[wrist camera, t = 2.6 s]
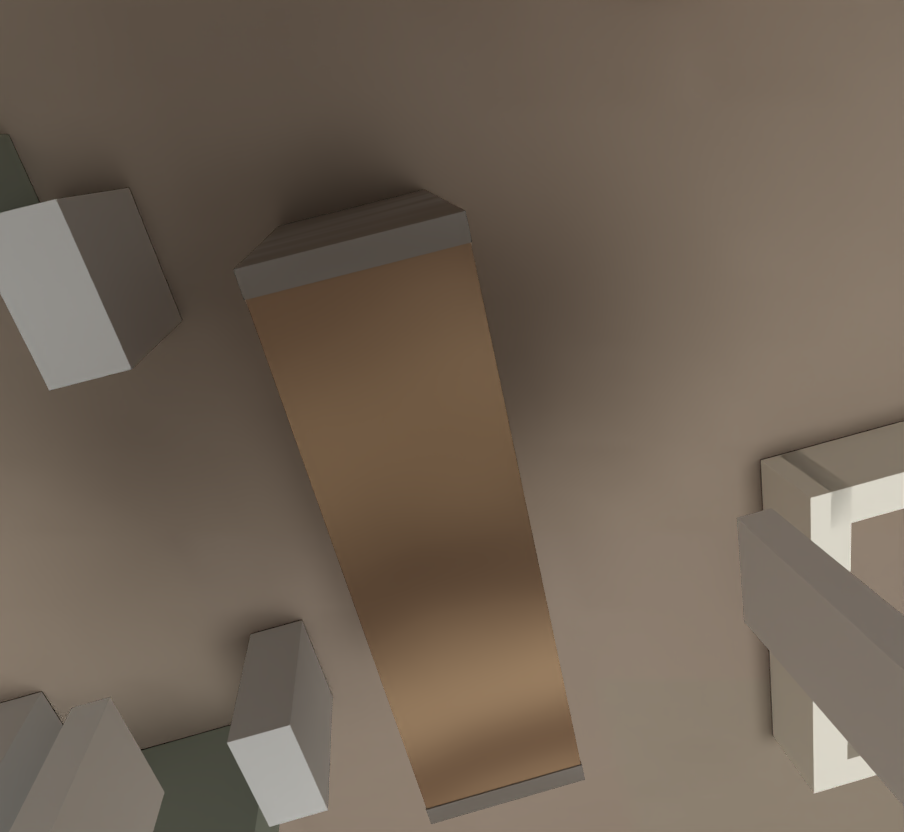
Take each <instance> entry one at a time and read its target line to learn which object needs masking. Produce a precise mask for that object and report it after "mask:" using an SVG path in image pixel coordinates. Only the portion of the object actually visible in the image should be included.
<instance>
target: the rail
mask: <svg viewBox="0 0 904 832" xmlns="http://www.w3.org/2000/svg"><path fill="white" fill-rule="evenodd" d="M471 242H472V240H471V235H470V230H469V225H468V221H467V216H466V211H465V210H463V209H461V208H459V207H457V206H455V205H453V204H451V203H449V202H448V201H446V200H444V199H442V198H440V197H438V196H436V195H434V194H432V193H430V192H429V191H427V190H421V191H417V192H413V193H409V194H405V195H401V196H397V197H393V198H389V199H385V200H381V201H377V202H373V203H369V204H365V205H361V206H357V207H353V208H349V209H345V210H341V211H337V212H333V213H329V214H325V215H321V216H317V217H313V218H309V219H305V220H301V221H297V222H293V223H289V224H285V225H281V226H278V227H277V228H276V229H275V230H274V231H273V232H272V233H271V234H270V235H269V236H268V237H267V238H266V239H265V240H264V241H263V242H262V243H261V244H260V245H258V246H257V247H256V248H255V249H254V250H253V251H252V252H251V253H250V254H249V255H248V256H247V257H246V258H245V259H244V260H243V261H242V262H241V263H240V264H239V265H238V266H236V267H235V268H234V269H233V271H234V273H235V276H236V279H237V282H238V285H239V287H240V290H241V293H242V296H243V299H244V300H246V303H247V305H248V308H249V311H250V314H251V317H252V319H253V322H254V325H255V328H256V331H257V333H258V336H259V339H260V342H261V345H262V347H263V350H264V353H265V356H266V359H267V361H268V364H269V367H270V370H271V373H272V375H273V378H274V381H275V384H276V387H277V390H278V392H279V395H280V398H281V401H282V404H283V406H284V409H285V412H286V415H287V418H288V420H289V423H290V426H291V429H292V432H293V434H294V437H295V440H296V443H297V446H298V448H299V451H300V454H301V457H302V460H303V463H304V465H305V468H306V471H307V474H308V477H309V479H310V482H311V485H312V488H313V491H314V493H315V496H316V499H317V502H318V505H319V507H320V510H321V513H322V516H323V519H324V521H325V524H326V527H327V530H328V533H329V535H330V538H331V541H332V544H333V547H334V550H335V552H336V555H337V558H338V561H339V564H340V566H341V569H342V572H343V575H344V578H345V580H346V583H347V586H348V589H349V592H350V594H351V597H352V600H353V603H354V606H355V608H356V611H357V614H358V617H359V620H360V623H361V625H362V628H363V631H364V634H365V637H366V639H367V642H368V645H369V648H370V651H371V653H372V656H373V659H374V662H375V665H376V667H377V670H378V673H379V676H380V679H381V681H382V684H383V687H384V690H385V693H386V695H387V698H388V701H389V704H390V707H391V710H392V712H393V715H394V718H395V721H396V724H397V726H398V729H399V732H400V735H401V738H402V740H403V743H404V746H405V749H406V752H407V754H408V757H409V760H410V763H411V766H412V768H413V771H414V774H415V777H416V780H417V783H418V785H419V788H420V791H421V794H422V797H423V799H424V802H425V805H426V811H427V814H428V816H429V819H430V822H431V824H433V823H437V822H440V821H444V820H447V819H451V818H454V817H458V816H461V815H464V814H468V813H471V812H475V811H478V810H482V809H485V808H489V807H492V806H496V805H499V804H502V803H506V802H509V801H513V800H516V799H520V798H523V797H527V796H530V795H533V794H537V793H540V792H544V791H547V790H551V789H554V788H558V787H561V786H564V785H568V784H571V783H575V782H578V781H582V780H585V777H584V773H583V768H582V764H581V761H580V758H579V753H578V748H577V744H576V739H575V734H574V730H573V725H572V720H571V715H570V711H569V706H568V701H567V696H566V692H565V687H564V682H563V677H562V673H561V668H560V663H559V658H558V654H557V649H556V644H555V639H554V635H553V630H552V625H551V620H550V616H549V611H548V606H547V601H546V597H545V592H544V587H543V583H542V578H541V573H540V568H539V564H538V559H537V554H536V549H535V545H534V540H533V535H532V530H531V526H530V521H529V516H528V511H527V507H526V502H525V497H524V492H523V488H522V483H521V478H520V473H519V469H518V464H517V459H516V454H515V450H514V445H513V440H512V436H511V431H510V426H509V421H508V417H507V412H506V407H505V402H504V398H503V393H502V388H501V383H500V379H499V374H498V369H497V364H496V360H495V355H494V350H493V345H492V341H491V336H490V331H489V326H488V322H487V317H486V312H485V308H484V303H483V298H482V293H481V289H480V284H479V279H478V274H477V270H476V265H475V260H474V255H473V251H472V246H471Z"/></svg>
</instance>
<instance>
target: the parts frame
mask: <svg viewBox="0 0 904 832" xmlns="http://www.w3.org/2000/svg"><path fill="white" fill-rule="evenodd" d="M761 477H762V499H763V510H766V509H770V508H772V509H773V510H775V511H776V512H777V513H778V514H780V515H781V516H782V517H783V518H784V519H786V520H787V521H788V522H789V523H791V524H792V525H793V526H794V527H795V528H797V529H798V530H799V531H800V532H802V533H803V534H804V535H805V536H807V537H808V538H809V539H810V540H811V541H813V542H814V543H815V544H816V545H818V546H819V547H820V548H821V549H822V550H824V551H825V552H826V553H827V554H829V555H830V556H831V557H832V558H834V559H835V560H836V561H837V562H838V563H840V564H841V565H842V566H843V567H845V568H846V569H847V570H848V571H849V572H850V570H851V523H853V522H857V521H860V520H864V519H867V518H871V517H874V516H878V515H882V514H885V513H889V512H892V511H896V510H900V509H903V508H904V421H903V422H899V423H895V424H892V425H888V426H884V427H881V428H877V429H873V430H870V431H866V432H862V433H859V434H855V435H851V436H848V437H844V438H840V439H837V440H833V441H829V442H826V443H822V444H818V445H815V446H811V447H807V448H804V449H800V450H796V451H793V452H789V453H785V454H782V455H778V456H774V457H771V458H767V459H763V460H761ZM769 654H770V676H771V699H772V721H773V737H774V738H775V740H776V741H777V742H778V744H779V745H780V747H781V748H782V749H783V751H784V752H785V754H786V755H787V756H788V758H789V759H790V761H791V762H792V763H793V765H794V766H795V768H796V769H797V770H798V772H799V773H800V775H801V776H802V777H803V779H804V780H805V782H806V783H807V784H808V786H809V787H810V789H811V790H812V791H813V793H817V792H820V791H824V790H827V789H830V788H834V787H837V786H841V785H844V784H847V783H851V782H854V781H857V780H861V779H864V778H868V777H871V776H874V775H876V774H875V772H874V771H873V770H872V769H871V768H870V767H869V765H868V764H867V763H866V762H865V761H864V760H863V758H862V757H861V756H860V755H859V754H858V753H857V752H856V750H855V749H854V748H853V747H852V746H851V745H850V743H849V742H848V741H847V740H846V739H845V738H844V736H843V735H842V734H841V733H840V732H839V731H838V730H837V728H836V727H835V726H834V725H833V724H832V723H831V721H830V720H829V719H828V718H827V717H826V716H825V714H824V713H823V712H822V711H821V710H820V709H819V708H818V706H817V705H816V704H815V703H814V702H813V701H812V699H811V698H810V697H809V696H808V695H807V694H806V692H805V691H804V690H803V689H802V688H801V687H800V686H799V684H798V683H797V682H796V681H795V680H794V679H793V677H792V676H791V675H790V674H789V673H788V672H787V670H786V669H785V668H784V667H783V666H782V665H781V664H780V662H779V661H778V660H777V659H776V658H775V657H774V655H773V654H772V653H771V652H770V651H769Z"/></svg>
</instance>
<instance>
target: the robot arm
mask: <svg viewBox="0 0 904 832" xmlns="http://www.w3.org/2000/svg"><path fill="white" fill-rule="evenodd" d="M737 526H738V541H739V555H740V569H741V584H742V598H743V612H744V622H745V623H746V624H747V625H748V627H749V628H750V629H751V630H752V631H753V632H754V633H755V635H756V636H757V637H758V638H759V639H760V640H761V642H762V643H763V644H764V645H765V646H766V647H767V649H768V650H769V651H770V652H771V653H772V654H773V655H774V657H775V658H776V659H777V660H778V661H779V662H780V664H781V665H782V666H783V667H784V668H785V669H786V670H787V672H788V673H789V674H790V675H791V676H792V677H793V679H794V680H795V681H796V682H797V683H798V684H799V686H800V687H801V688H802V689H803V690H804V691H805V692H806V694H807V695H808V696H809V697H810V698H811V699H812V701H813V702H814V703H815V704H816V705H817V706H818V708H819V709H820V710H821V711H822V712H823V713H824V714H825V716H826V717H827V718H828V719H829V720H830V721H831V723H832V724H833V725H834V726H835V727H836V728H837V730H838V731H839V732H840V733H841V734H842V735H843V736H844V738H845V739H846V740H847V741H848V742H849V743H850V745H851V746H852V747H853V748H854V749H855V750H856V752H857V753H858V754H859V755H860V756H861V757H862V758H863V760H864V761H865V762H866V763H867V764H868V765H869V767H870V768H871V769H872V770H873V771H874V772H875V774H876V775H877V776H878V777H879V778H880V779H881V780H882V782H883V783H884V784H885V785H886V786H887V787H888V789H889V790H890V791H891V792H892V793H893V794H894V796H895V797H896V798H897V799H898V800H899V801H900V802H901V804H902V805H903V806H904V616H903V615H902V614H901V613H900V612H899V611H897V610H896V609H895V608H894V607H892V606H891V605H890V604H889V603H888V602H886V601H885V600H884V599H883V598H881V597H880V596H879V595H878V594H876V593H875V592H874V591H873V590H872V589H870V588H869V587H868V586H867V585H865V584H864V583H863V582H862V581H861V580H859V579H858V578H857V577H856V576H854V575H853V574H852V573H851V572H849V571H848V570H847V569H846V568H845V567H843V566H842V565H841V564H840V563H838V562H837V561H836V560H835V559H834V558H832V557H831V556H830V555H829V554H827V553H826V552H825V551H824V550H822V549H821V548H820V547H819V546H818V545H816V544H815V543H814V542H813V541H811V540H810V539H809V538H808V537H807V536H805V535H804V534H803V533H802V532H800V531H799V530H798V529H797V528H795V527H794V526H793V525H792V524H791V523H789V522H788V521H787V520H786V519H784V518H783V517H782V516H781V515H780V514H778V513H777V512H776V511H775V510H773V509H772V508H770V509H766V510H763V511H759V512H756V513H752V514H749V515H745V516H742V517H738V518H737ZM164 793H165V792H164V790H163V789H162V787H161V785H160V783H159V781H158V780H157V778H156V776H155V774H154V773H153V771H152V769H151V767H150V766H149V764H148V762H147V760H146V759H145V757H144V755H143V753H142V752H141V750H140V748H139V746H138V745H137V743H136V741H135V739H134V738H133V736H132V734H131V732H130V731H129V729H128V727H127V725H126V724H125V722H124V720H123V718H122V717H121V715H120V713H119V711H118V710H117V708H116V706H115V704H114V702H113V701H112V699H111V697H108V698H105V699H101V700H98V701H94V702H91V703H87V704H84V705H80V706H77V707H73V708H71V710H70V712H69V714H68V716H67V718H66V720H65V722H64V724H63V726H62V728H61V730H60V732H59V734H58V736H57V738H56V740H55V742H54V744H53V746H52V748H51V750H50V752H49V754H48V756H47V758H46V760H45V762H44V764H43V766H42V768H41V770H40V772H39V774H38V776H37V778H36V779H35V781H34V783H33V785H32V787H31V789H30V791H29V793H28V795H27V797H26V799H25V801H24V803H23V805H22V807H21V809H20V811H19V813H18V815H17V817H16V819H15V821H14V823H13V825H12V827H11V829H10V831H9V832H153V830H154V827H155V823H156V820H157V817H158V813H159V810H160V806H161V803H162V799H163V796H164Z"/></svg>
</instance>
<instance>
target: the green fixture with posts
mask: <svg viewBox="0 0 904 832" xmlns="http://www.w3.org/2000/svg"><path fill="white" fill-rule="evenodd" d="M0 294H1V296H2V298H3V300H4V302H5V304H6V306H7V308H8V310H9V312H10V314H11V316H12V318H13V320H14V321H15V323H16V325H17V327H18V329H19V331H20V333H21V335H22V337H23V339H24V341H25V343H26V345H27V347H28V349H29V351H30V353H31V355H32V357H33V359H34V361H35V363H36V365H37V367H38V369H39V371H40V373H41V375H42V377H43V379H44V381H45V383H46V385H47V387H48V389H49V390H53V389H57V388H61V387H65V386H69V385H73V384H77V383H80V382H84V381H88V380H92V379H96V378H100V377H104V376H108V375H112V374H115V373H119V372H123V371H127V370H131V369H133V368H134V367H135V366H136V365H137V364H138V363H139V362H140V361H141V360H142V359H143V358H144V357H145V356H146V355H147V354H148V353H149V352H150V351H151V350H152V349H153V348H154V347H155V346H156V345H157V344H158V343H159V342H160V341H161V340H163V339H164V338H165V337H166V336H167V335H168V334H169V333H170V332H171V331H172V330H173V329H174V328H175V327H176V326H177V325H178V324H179V323H180V322H181V321H182V319H181V317H180V314H179V312H178V309H177V307H176V304H175V302H174V299H173V297H172V294H171V292H170V289H169V287H168V284H167V282H166V279H165V277H164V274H163V272H162V269H161V267H160V264H159V262H158V259H157V257H156V254H155V252H154V249H153V247H152V244H151V242H150V239H149V237H148V234H147V232H146V229H145V227H144V224H143V222H142V219H141V217H140V214H139V212H138V209H137V207H136V204H135V202H134V199H133V197H132V194H131V192H130V189H129V188H125V189H118V190H112V191H105V192H99V193H92V194H86V195H79V196H73V197H66V198H60V199H54V200H50V201H46V202H42V203H39V200H38V198H37V196H36V194H35V192H34V189H33V187H32V185H31V183H30V181H29V178H28V176H27V174H26V172H25V170H24V168H23V165H22V163H21V161H20V159H19V157H18V154H17V152H16V150H15V148H14V146H13V143H12V141H11V139H10V137H9V135H5V134H0ZM332 699H333V697H332V694H331V692H330V689H329V687H328V684H327V682H326V679H325V677H324V674H323V672H322V669H321V667H320V664H319V662H318V659H317V657H316V654H315V652H314V649H313V647H312V644H311V642H310V639H309V637H308V634H307V632H306V629H305V627H304V624H303V622H302V620H301V621H297V622H294V623H290V624H286V625H283V626H279V627H276V628H272V629H268V630H265V631H261V632H257V633H254V634H251V635H250V639H249V644H248V649H247V653H246V658H245V662H244V667H243V672H242V676H241V681H240V685H239V690H238V695H237V699H236V704H235V708H234V713H233V718H232V722H231V725H230V726H227V727H223V728H220V729H216V730H212V731H209V732H205V733H202V734H198V735H195V736H191V737H187V738H184V739H180V740H177V741H173V742H170V743H166V744H163V745H159V746H155V747H152V748H148V749H145V750H141V752H142V753H143V755H144V757H145V759H146V760H147V762H148V764H149V766H150V767H151V769H152V771H153V773H154V774H155V776H156V778H157V780H158V781H159V783H160V785H161V787H162V789H163V790H164V792H165V793H164V796H163V799H162V803H161V806H160V810H159V813H158V817H157V820H156V823H155V827H154V830H153V832H279V824H282V823H285V822H288V821H292V820H295V819H299V818H302V817H306V816H309V815H313V814H316V813H320V812H323V811H327V810H328V795H329V771H330V747H331V723H332ZM62 726H63V725H62V723H61V721H60V720H59V718H58V717H57V715H56V713H55V712H54V710H53V709H52V707H51V706H50V704H49V702H48V701H47V699H46V698H45V696H44V694H43V693H42V692H39V693H36V694H32V695H29V696H25V697H21V698H18V699H14V700H10V701H7V702H3V703H0V832H9V831H10V829H11V827H12V825H13V823H14V821H15V819H16V817H17V815H18V813H19V811H20V809H21V807H22V805H23V803H24V801H25V799H26V797H27V795H28V793H29V791H30V789H31V787H32V785H33V783H34V781H35V779H36V778H37V776H38V774H39V772H40V770H41V768H42V766H43V764H44V762H45V760H46V758H47V756H48V754H49V752H50V750H51V748H52V746H53V744H54V742H55V740H56V738H57V736H58V734H59V732H60V730H61V728H62Z"/></svg>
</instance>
